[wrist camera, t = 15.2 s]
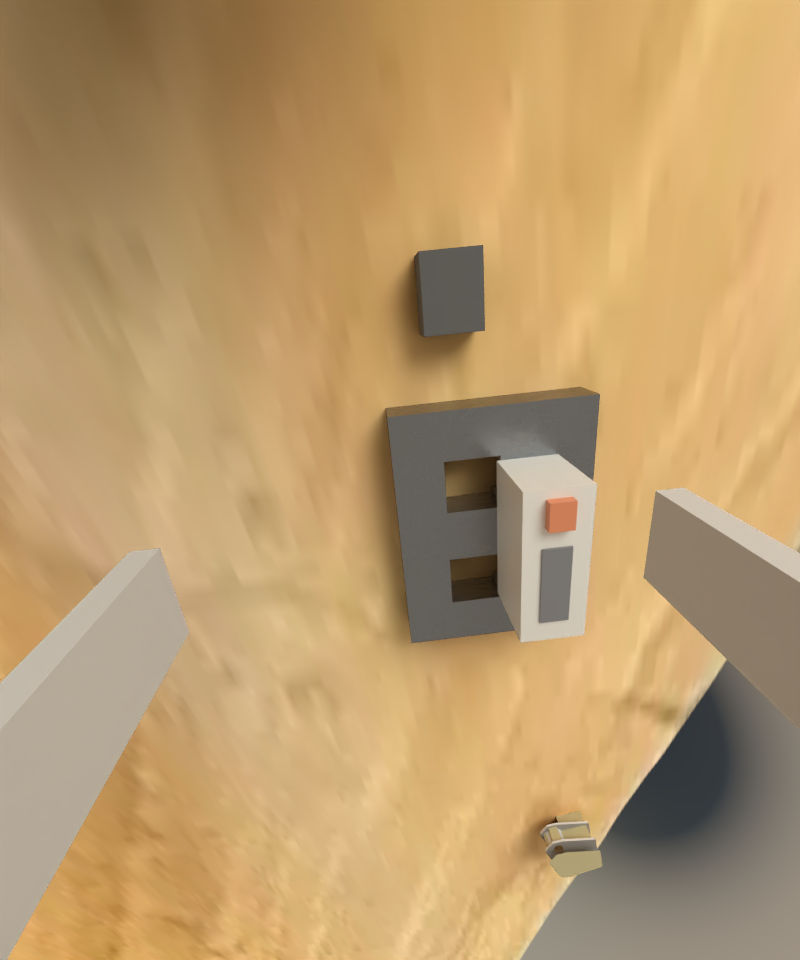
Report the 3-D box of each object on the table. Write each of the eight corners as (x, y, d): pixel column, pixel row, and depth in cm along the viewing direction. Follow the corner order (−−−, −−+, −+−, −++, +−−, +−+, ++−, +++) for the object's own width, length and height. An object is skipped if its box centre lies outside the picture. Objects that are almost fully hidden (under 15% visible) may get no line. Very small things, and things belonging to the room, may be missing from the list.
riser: (420, 334, 37) (424, 336, 34) (414, 256, 35) (418, 251, 32) (475, 328, 37) (484, 330, 34) (473, 250, 35) (483, 245, 32)
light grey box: (489, 575, 46) (523, 649, 36) (487, 450, 41) (526, 496, 31) (540, 569, 46) (588, 641, 36) (545, 444, 41) (602, 488, 31)
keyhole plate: (408, 620, 48) (411, 643, 45) (385, 408, 39) (387, 417, 36) (567, 601, 48) (581, 622, 45) (580, 386, 39) (599, 394, 36)
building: (589, 791, 62) (609, 835, 57) (595, 828, 65) (614, 872, 60) (521, 808, 62) (535, 852, 57) (530, 843, 66) (544, 889, 60)
